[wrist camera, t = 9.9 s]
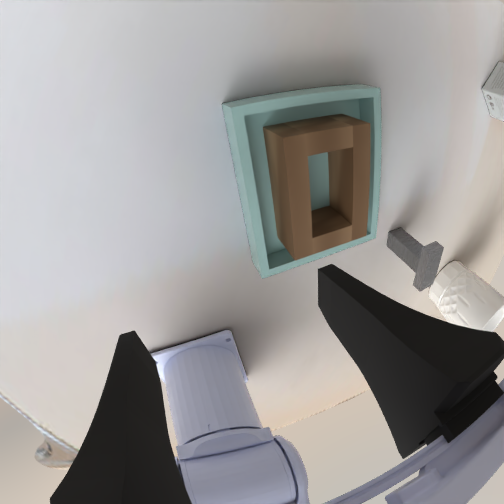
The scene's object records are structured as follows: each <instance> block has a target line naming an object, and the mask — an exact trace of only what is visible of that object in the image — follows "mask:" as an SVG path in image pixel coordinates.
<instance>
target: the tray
mask: <svg viewBox="0 0 504 504" xmlns="http://www.w3.org/2000/svg"><path fill="white" fill-rule="evenodd" d="M222 108H223V113H224V118H225V123H226V128H227V133H228V139H229V144H230V149H231V154H232V159H233V164H234V169H235V174H236V179H237V184H238V189H239V195H240V200H241V205H242V210H243V215H244V220H245V225H246V230H247V235H248V240H249V245H250V250H251V255H252V260H253V263H254V265H255V267H256V268H257V270H258V272H259V274H260V276H261V278H262V279H263V278H266V277H269V276H272V275H275V274H278V273H280V272H283V271H286V270H289V269H292V268H295V267H298V266H300V265H303V264H306V263H309V262H312V261H314V260H317V259H320V258H323V257H326V256H328V255H331V254H334V253H337V252H339V251H342V250H345V249H348V248H350V247H353V246H356V245H358V244H361V243H364V242H367V241H369V240H372V239H375V238H376V231H377V220H378V208H379V193H380V173H381V94H380V88H378V87H373V86H368V85H363V84H354V85H340V86H329V87H319V88H310V89H302V90H294V91H287V92H280V93H274V94H268V95H262V96H257V97H251V98H246V99H241V100H236V101H232V102H227V103H222ZM335 114H345V115H348V116H351V117H354V118H357V119H360V120H363V121H365V122H368V123H370V188H369V208H368V223H367V235H366V236H364V237H362V238H359V239H356V240H353V241H350V242H348V243H345V244H342V245H339V246H336V247H333V248H330V249H328V250H325V251H322V252H319V253H316V254H313V255H310V256H307V257H304V258H302V259H299V260H296V261H295V260H294V259H293V257H292V256H291V255H290V253H289V252H288V251H287V249H286V248H285V247H284V245H283V244H282V243H281V241H280V240H279V239H278V237H277V230H276V222H275V214H274V206H273V199H272V191H271V183H270V176H269V169H268V161H267V154H266V147H265V140H264V133H263V127H265V126H270V125H275V124H280V123H285V122H291V121H296V120H302V119H308V118H314V117H321V116H328V115H335ZM308 167H309V182H310V198H311V211H312V210H316V209H319V208H323V207H326V206H330V203H329V169H328V152H326V153H321V154H316V155H311V156H308Z"/></svg>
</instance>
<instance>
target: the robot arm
mask: <svg viewBox="0 0 504 504" xmlns="http://www.w3.org/2000/svg"><path fill="white" fill-rule="evenodd" d="M318 306H319V308H320V309H321V311H322V313H323V315H324V317H325V319H326V321H327V323H328V324H329V326H330V328H331V329H332V331H333V332H334V333H335V335H336V336H337V338H338V339H339V340H340V342H341V343H342V345H343V346H344V347H345V349H346V350H347V352H348V353H349V354H350V356H351V357H352V359H353V360H354V362H355V363H356V364H357V366H358V367H359V369H360V370H361V372H362V374H363V375H364V377H365V379H366V381H367V383H368V385H369V386H370V388H371V390H372V392H373V394H374V396H375V398H376V400H377V402H378V404H379V406H380V408H381V410H382V412H383V415H384V417H385V419H386V421H387V423H388V426H389V428H390V430H391V433H392V436H393V438H394V441H395V443H396V446H397V449H398V451H399V453H400V455H401V456H402V458H403V459H404V458H406V457H407V456H409V455H410V454H412V453H413V452H415V451H416V450H418V449H419V448H421V447H422V446H424V445H425V444H427V447H425V448H423V449H422V450H420V451H419V452H417V453H416V454H414V455H413V456H411V457H410V458H408V459H407V460H405V461H404V462H402V463H400V464H399V465H397V466H396V467H394V468H392V469H391V470H389V471H387V472H385V473H384V474H382V475H380V476H379V477H377V478H375V479H373V480H371V481H369V482H367V483H366V484H364V485H362V486H360V487H358V488H356V489H354V490H352V491H350V492H348V493H345V494H343V495H341V496H339V497H337V498H335V499H332V500H330V501H328V502H325V503H323V504H361V503H363V502H365V501H367V500H369V499H371V498H373V497H375V496H377V495H378V494H380V493H382V492H384V491H385V490H387V489H389V488H391V487H392V486H394V485H396V484H397V483H399V482H401V481H402V480H404V479H405V478H407V477H409V476H410V475H411V474H413V473H415V472H416V471H418V470H419V469H420V471H419V476H418V477H416V478H414V479H413V480H411V481H409V482H407V483H406V484H404V485H403V486H401V487H399V488H398V489H396V490H395V491H393V492H392V493H390V494H388V495H387V496H386V497H385V499H386V501H387V503H388V504H466V503H467V502H468V501H469V500H470V499H471V498H472V497H473V496H474V495H475V494H476V493H477V492H478V491H479V490H480V489H481V488H482V487H483V486H484V485H485V483H486V482H487V481H488V480H489V479H490V478H491V477H492V476H493V474H494V473H495V472H496V471H497V470H498V468H499V467H500V466H501V465H502V463H503V462H504V379H503V380H502V381H501V382H500V383H499V384H497V383H496V381H495V380H496V379H497V375H496V374H495V373H494V370H495V369H496V368H497V366H498V365H499V364H500V363H501V361H502V360H503V359H504V341H503V340H502V339H501V337H500V336H499V335H498V334H497V333H496V332H490V331H484V330H477V329H472V328H468V327H464V326H459V325H456V324H452V323H449V322H445V321H442V320H439V319H436V318H433V317H431V316H428V315H425V314H423V313H421V312H418V311H416V310H413V309H411V308H409V307H407V306H404V305H402V304H400V303H398V302H396V301H394V300H392V299H390V298H389V297H387V296H385V295H383V294H381V293H379V292H378V291H376V290H374V289H372V288H371V287H369V286H367V285H366V284H364V283H362V282H361V281H359V280H357V279H356V278H354V277H352V276H351V275H349V274H348V273H346V272H344V271H343V270H341V269H339V268H338V267H336V266H335V265H333V264H330V265H328V266H325V267H322V268H320V269H318ZM227 338H228V339H227ZM159 376H160V377H161V379H162V380H163V381H164V383H165V384H166V390H167V395H168V401H169V406H170V411H171V416H172V420H173V425H174V430H175V434H176V439H177V443H178V446H176V449H177V453H178V457H179V460H178V458H177V457H174V454H173V451H172V447H171V444H170V439H169V435H168V429H167V422H166V416H165V409H164V402H163V394H162V387H161V382H160V378H159ZM247 381H248V378H247V375H246V372H245V370H244V367H243V364H242V361H241V358H240V356H239V353H238V350H237V347H236V344H235V341H234V338H233V335H232V332H231V331H229V330H225V331H222V332H219V333H216V334H213V335H209V336H206V337H203V338H200V339H197V340H194V341H191V342H188V343H184V344H181V345H178V346H175V347H171V348H168V349H165V350H161V351H158V352H154V353H151V354H150V353H149V351H148V350H147V348H146V347H145V345H144V344H143V342H142V341H141V339H140V338H139V336H138V335H137V333H136V332H135V331H131V332H128V333H125V334H121V335H120V336H119V339H118V342H117V346H116V349H115V353H114V356H113V360H112V363H111V367H110V370H109V373H108V377H107V380H106V383H105V387H104V390H103V393H102V396H101V399H100V402H99V405H98V408H97V410H96V413H95V416H94V418H93V421H92V423H91V426H90V428H89V431H88V433H87V435H86V437H85V439H84V442H83V444H82V446H81V448H80V450H79V452H78V454H77V456H76V458H75V460H74V461H73V463H72V465H71V467H70V469H69V470H68V472H67V474H66V476H65V477H64V479H63V480H62V482H61V483H60V485H59V486H58V488H57V489H56V491H55V492H54V494H53V495H52V496H51V498H50V504H310V503H309V498H308V492H307V489H308V479H307V474H306V470H305V467H304V464H303V461H302V459H301V457H300V455H299V453H298V451H297V450H296V448H295V447H294V445H293V444H292V443H291V442H290V441H288V440H286V439H284V438H283V437H282V436H280V435H276V436H273V435H272V433H271V431H270V428H269V427H266V428H263V427H262V424H261V422H260V419H259V417H258V414H257V412H256V409H255V407H254V404H253V402H252V399H251V397H250V394H249V391H248V389H247V386H246V384H245V383H246V382H247Z"/></svg>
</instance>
